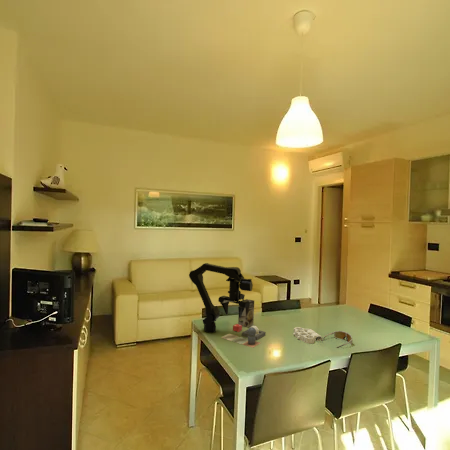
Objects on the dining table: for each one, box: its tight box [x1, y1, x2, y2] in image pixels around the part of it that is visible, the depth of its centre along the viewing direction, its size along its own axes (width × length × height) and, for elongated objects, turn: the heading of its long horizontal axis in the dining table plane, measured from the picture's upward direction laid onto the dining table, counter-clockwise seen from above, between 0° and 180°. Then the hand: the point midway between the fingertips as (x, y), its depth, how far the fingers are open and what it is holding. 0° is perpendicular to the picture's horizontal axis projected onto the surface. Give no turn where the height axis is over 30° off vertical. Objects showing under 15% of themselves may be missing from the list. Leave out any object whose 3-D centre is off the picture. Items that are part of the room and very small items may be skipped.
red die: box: [232, 323, 243, 333], centre depth 187 cm, size 4×4×4 cm
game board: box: [220, 333, 261, 348], centre depth 171 cm, size 22×10×1 cm, turn 54°
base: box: [241, 329, 266, 341], centre depth 179 cm, size 10×10×3 cm
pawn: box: [247, 326, 256, 345], centre depth 167 cm, size 5×5×9 cm
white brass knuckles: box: [292, 326, 324, 344], centre depth 182 cm, size 3×18×15 cm
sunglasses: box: [321, 330, 353, 349], centre depth 176 cm, size 14×15×5 cm
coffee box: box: [237, 298, 255, 329], centre depth 198 cm, size 9×6×16 cm
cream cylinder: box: [249, 325, 260, 335], centre depth 179 cm, size 6×6×6 cm
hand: (233, 316), depth 179 cm, fingers open, 9 cm apart
